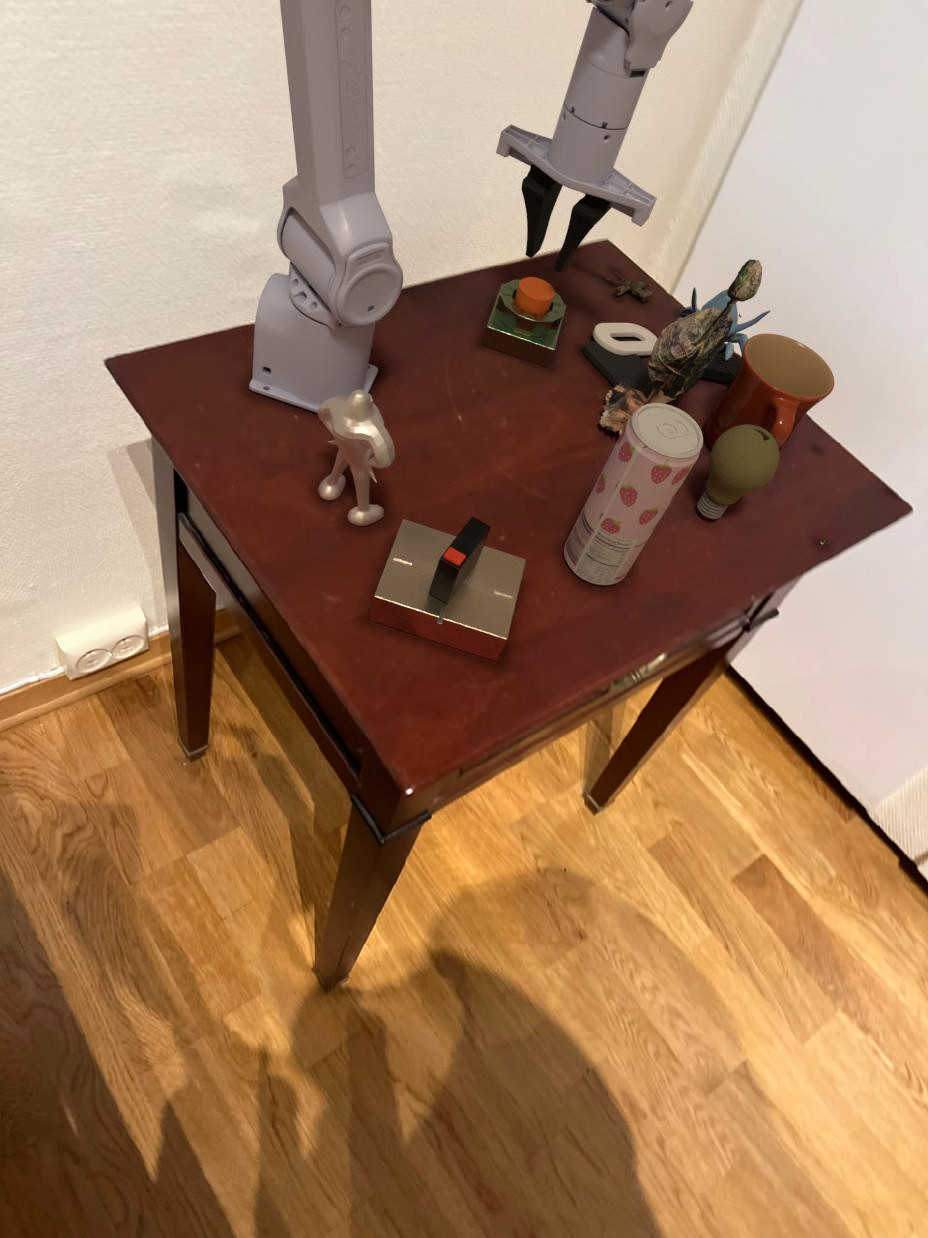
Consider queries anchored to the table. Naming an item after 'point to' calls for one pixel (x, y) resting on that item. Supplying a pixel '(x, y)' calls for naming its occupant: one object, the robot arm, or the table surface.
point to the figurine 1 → (356, 450)
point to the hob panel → (472, 611)
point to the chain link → (609, 330)
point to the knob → (459, 559)
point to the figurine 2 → (723, 363)
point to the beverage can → (633, 492)
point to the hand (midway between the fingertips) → (546, 259)
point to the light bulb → (738, 467)
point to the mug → (771, 388)
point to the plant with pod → (682, 352)
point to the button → (534, 295)
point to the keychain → (621, 368)
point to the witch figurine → (630, 287)
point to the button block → (523, 327)
